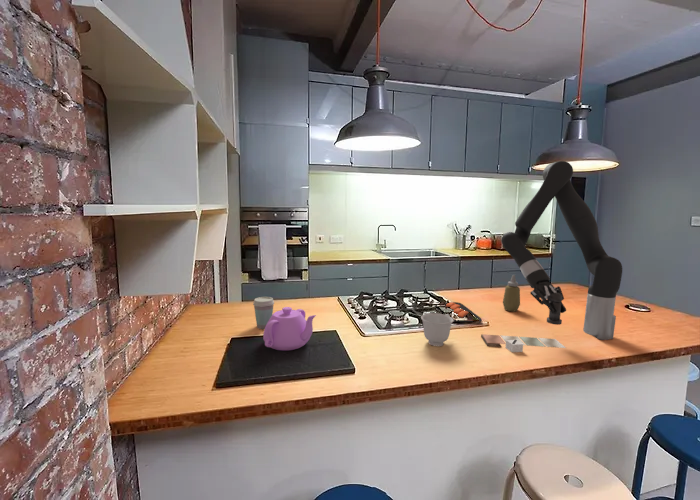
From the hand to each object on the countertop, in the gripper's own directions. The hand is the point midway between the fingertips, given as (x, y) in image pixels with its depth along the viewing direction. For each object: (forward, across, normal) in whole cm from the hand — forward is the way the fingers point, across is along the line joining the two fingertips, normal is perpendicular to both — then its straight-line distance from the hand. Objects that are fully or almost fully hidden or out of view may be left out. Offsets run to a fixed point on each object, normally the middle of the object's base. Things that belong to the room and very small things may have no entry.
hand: (559, 312), depth 125 cm
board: (+5, -10, +14) cm, 18 cm away
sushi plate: (-24, -18, +43) cm, 53 cm away
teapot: (-15, -93, +32) cm, 100 cm away
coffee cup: (-30, -101, +48) cm, 115 cm away
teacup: (-4, -40, +22) cm, 46 cm away
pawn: (+2, 0, +5) cm, 5 cm away
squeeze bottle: (-19, +20, +39) cm, 48 cm away
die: (+8, -19, +11) cm, 24 cm away
